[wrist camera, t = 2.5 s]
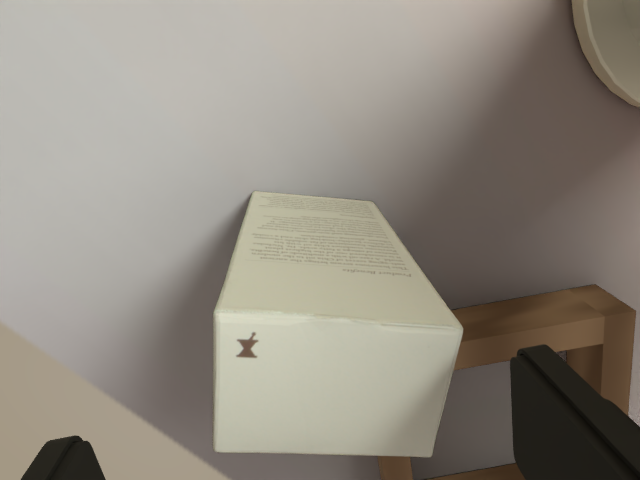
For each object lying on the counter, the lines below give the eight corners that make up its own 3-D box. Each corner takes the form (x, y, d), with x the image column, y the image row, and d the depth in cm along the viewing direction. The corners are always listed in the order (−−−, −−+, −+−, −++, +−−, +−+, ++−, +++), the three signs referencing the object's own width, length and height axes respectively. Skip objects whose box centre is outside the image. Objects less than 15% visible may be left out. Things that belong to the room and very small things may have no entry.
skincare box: (247, 271, 23) (202, 457, 11) (252, 188, 21) (206, 306, 10) (366, 279, 23) (435, 465, 12) (377, 199, 22) (470, 323, 11)
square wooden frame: (595, 284, 24) (636, 310, 21) (587, 468, 28) (620, 511, 26) (356, 327, 24) (365, 359, 21) (385, 505, 28) (395, 551, 26)
